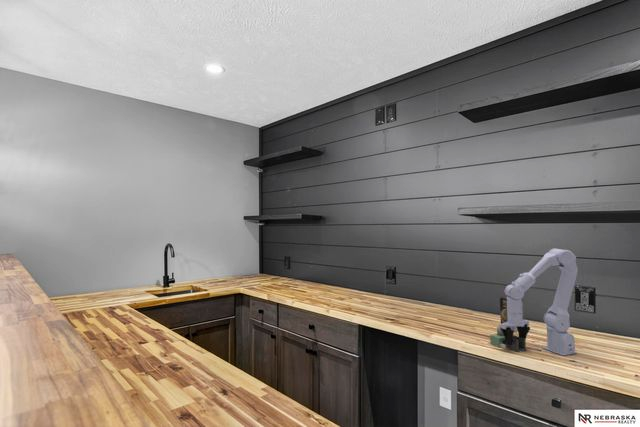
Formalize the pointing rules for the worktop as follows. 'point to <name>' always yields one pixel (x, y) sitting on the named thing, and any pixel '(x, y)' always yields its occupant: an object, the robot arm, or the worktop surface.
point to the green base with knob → (498, 339)
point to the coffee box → (504, 312)
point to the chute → (517, 344)
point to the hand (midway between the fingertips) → (515, 343)
